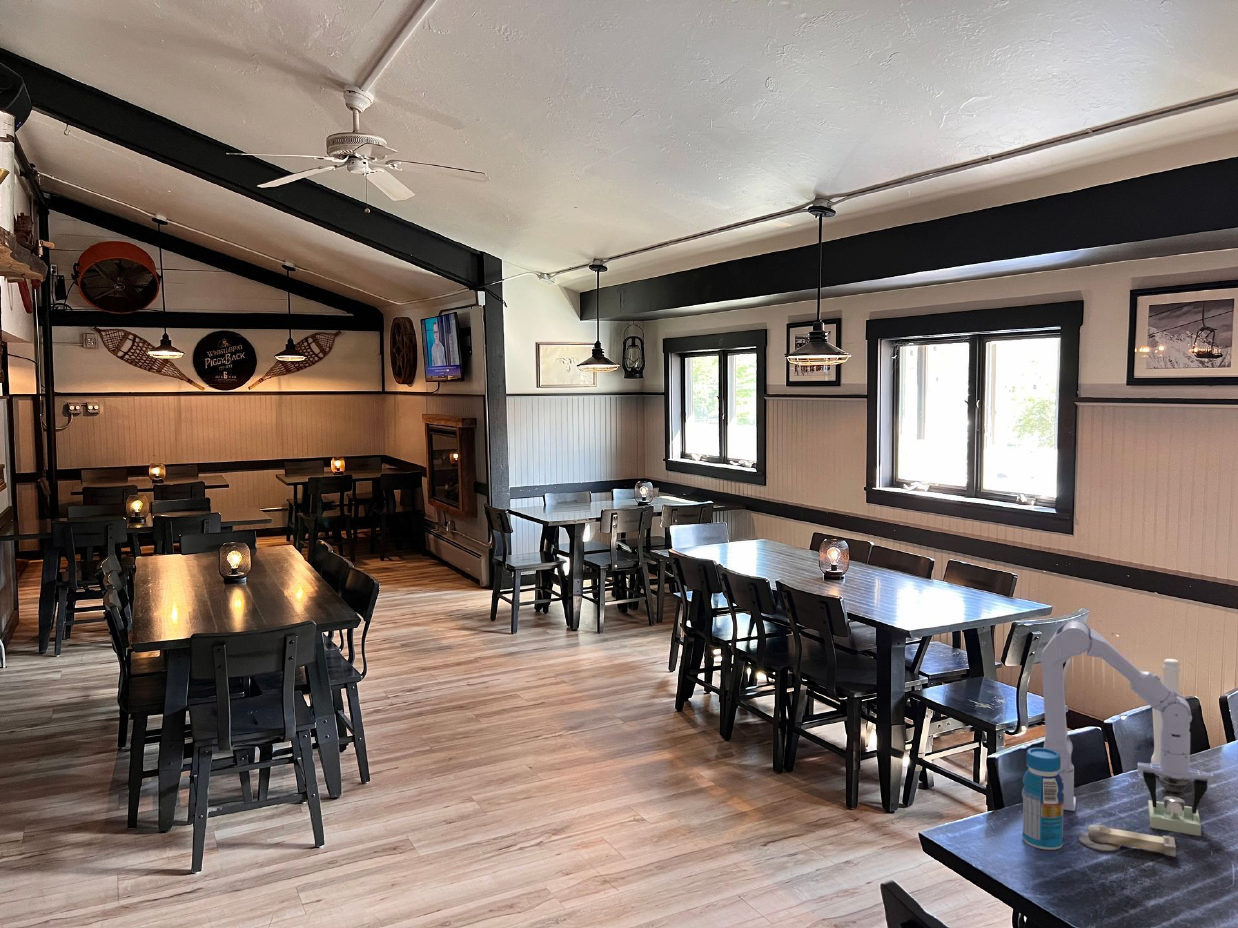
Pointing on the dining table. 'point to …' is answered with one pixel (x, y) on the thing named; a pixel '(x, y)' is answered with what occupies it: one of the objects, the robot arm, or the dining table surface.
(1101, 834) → the beige flat bar
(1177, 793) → the dark grey tiered tower
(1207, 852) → the dining table surface
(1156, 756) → the bottle
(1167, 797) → the piston stop
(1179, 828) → the tray
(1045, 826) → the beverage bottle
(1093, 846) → the crank base
